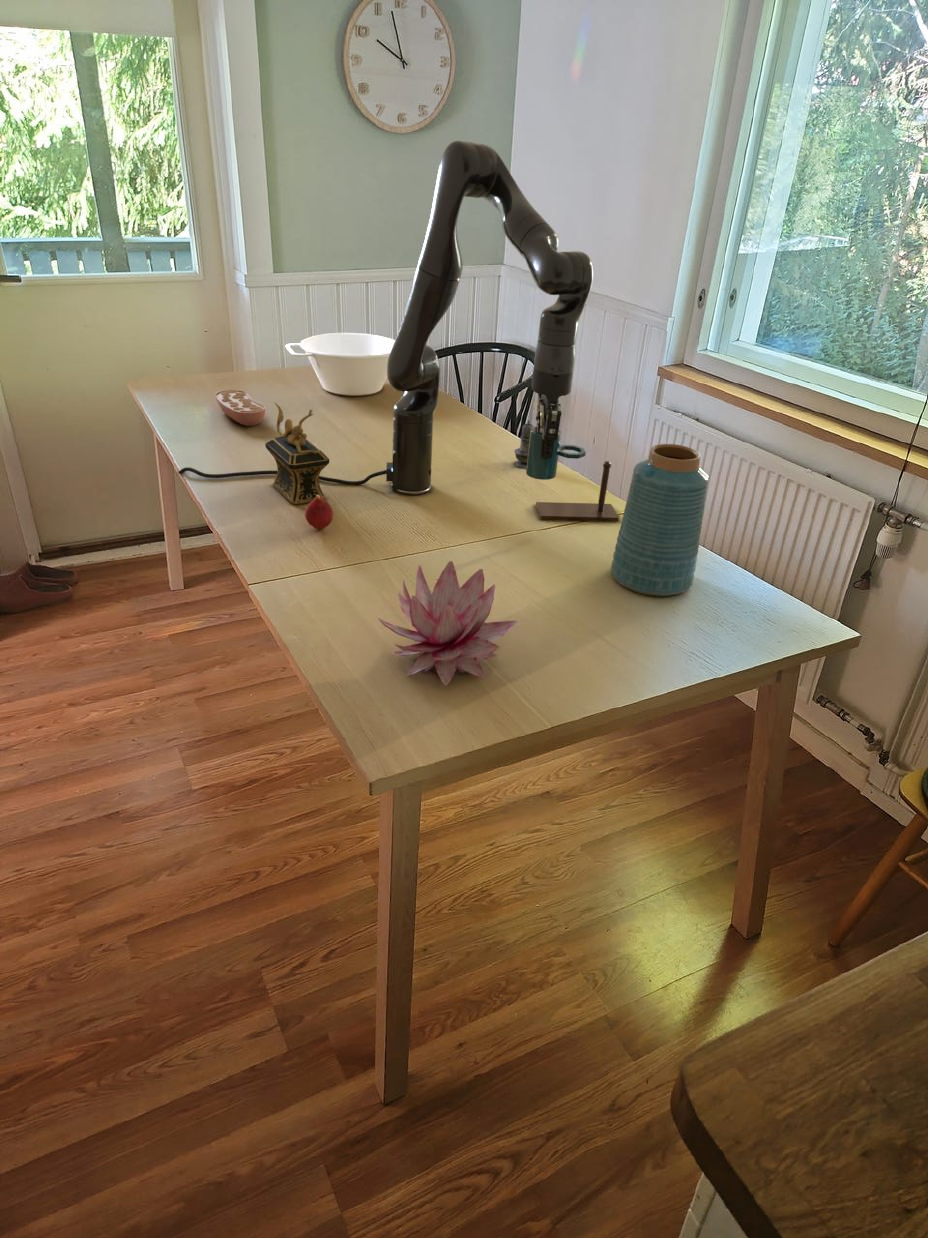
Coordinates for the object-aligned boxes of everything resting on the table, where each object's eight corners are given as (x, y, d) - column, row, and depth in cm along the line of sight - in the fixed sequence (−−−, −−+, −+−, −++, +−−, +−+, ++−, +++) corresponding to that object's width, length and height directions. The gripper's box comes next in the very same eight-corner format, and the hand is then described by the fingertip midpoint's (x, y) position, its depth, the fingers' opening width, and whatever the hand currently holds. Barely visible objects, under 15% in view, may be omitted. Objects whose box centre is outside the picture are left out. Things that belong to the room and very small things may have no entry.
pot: (301, 406, 252) (299, 358, 245) (280, 378, 277) (278, 333, 270) (427, 399, 266) (428, 353, 258) (396, 372, 291) (397, 330, 284)
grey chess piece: (533, 470, 217) (538, 424, 211) (511, 467, 218) (515, 422, 212) (536, 462, 222) (541, 418, 216) (514, 459, 223) (519, 415, 217)
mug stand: (540, 519, 190) (546, 465, 184) (535, 505, 197) (541, 453, 190) (618, 521, 192) (627, 468, 185) (610, 507, 199) (618, 455, 192)
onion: (338, 527, 180) (337, 492, 176) (325, 537, 176) (324, 502, 172) (313, 522, 182) (312, 487, 178) (301, 532, 177) (299, 497, 173)
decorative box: (332, 501, 192) (330, 417, 182) (292, 508, 187) (288, 422, 177) (299, 472, 206) (296, 392, 196) (261, 478, 202) (256, 396, 192)
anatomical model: (271, 427, 234) (270, 410, 231) (236, 432, 229) (234, 414, 226) (242, 405, 250) (241, 388, 247) (209, 408, 245) (208, 391, 243)
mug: (527, 479, 166) (532, 434, 161) (524, 468, 171) (529, 424, 166) (583, 481, 167) (590, 437, 162) (578, 470, 172) (584, 427, 167)
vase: (675, 608, 158) (704, 474, 145) (596, 582, 165) (617, 452, 152) (702, 576, 170) (732, 450, 157) (628, 553, 177) (650, 431, 164)
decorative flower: (405, 618, 149) (408, 541, 142) (522, 642, 145) (530, 564, 137) (358, 682, 132) (358, 599, 124) (489, 712, 127) (497, 628, 119)
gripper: (529, 355, 163) (520, 438, 172) (539, 375, 151) (529, 464, 160) (567, 357, 164) (556, 440, 173) (580, 377, 152) (568, 465, 160)
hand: (543, 451), depth 166 cm, fingers closed on mug, 6 cm apart
